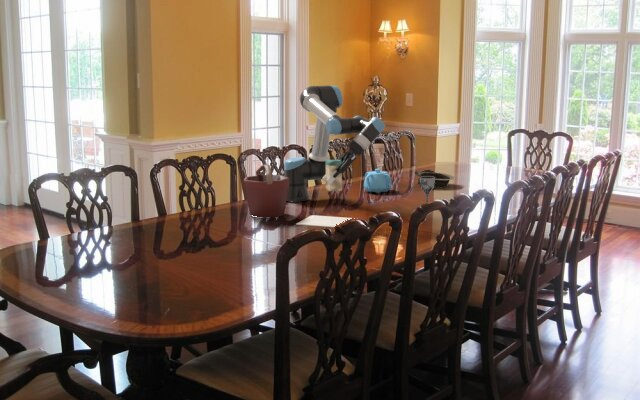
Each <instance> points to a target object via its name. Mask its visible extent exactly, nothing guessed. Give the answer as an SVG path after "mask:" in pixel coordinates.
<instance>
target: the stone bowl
mask: <svg viewBox="0 0 640 400" xmlns="http://www.w3.org/2000/svg"><path fill="white" fill-rule="evenodd" d="M414 174H415V175H416V176H418V179H417V185H419V186H420V177H421V176H433V177H435V185H434V188H433V189H437V188H441V189H443V188H446V187H447V186H448V185H449V183H450V180H451V181H453V180H456V177H455V176H453V175H451V174H447V173H442V172H436V171H434V170H431V169H425V170H422V171H417V170H416V171H414Z"/></svg>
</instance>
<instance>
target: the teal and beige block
mask: <svg viewBox="0 0 640 400" xmlns="http://www.w3.org/2000/svg"><path fill="white" fill-rule="evenodd" d="M341 164H342V161H340V160H337V159H330V160H326V180H327V179H328V178H329V177H330V176H331V174H332V173H333V172H334V171H335V170H336V168H337V169H338V167H339V166H340V165H341ZM336 171H337V170H336ZM342 174H343V173H341V174H339V176H338V177H337V178H336V179H335V180H334V181H333V182H332V183H331V184H330V183H329V182H327V181H326V182H325V190H327V191H329V192H340V191H343V186H342V185H343V179H342V178H343V175H342Z"/></svg>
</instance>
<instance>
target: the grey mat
mask: <svg viewBox="0 0 640 400" xmlns="http://www.w3.org/2000/svg"><path fill="white" fill-rule="evenodd" d="M352 218H354V217H344V216H342V217H341V216H330V215H329V216H328V215H313V214H312V215H309V216H307V217H306V218H303V219H302V220H301V221H299V222H296V223H295V226H296V225H298V226H311V227H321V228H322V227H324V228H334V227H335V226H336V224H337V225H339V224H340V223H342V222H343V221H344V222H345V220H346V221H347V219H348V220H350V219H352ZM355 218H357V217H355ZM355 218H354V219H355ZM357 219H358V220H359V218H357Z"/></svg>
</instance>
